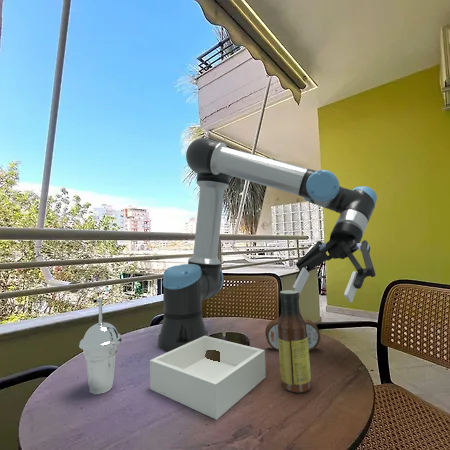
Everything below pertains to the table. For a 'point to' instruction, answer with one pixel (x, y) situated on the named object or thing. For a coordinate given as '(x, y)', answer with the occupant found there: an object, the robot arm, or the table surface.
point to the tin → (310, 327)
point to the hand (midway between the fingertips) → (319, 294)
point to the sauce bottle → (293, 344)
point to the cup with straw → (100, 354)
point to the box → (208, 374)
